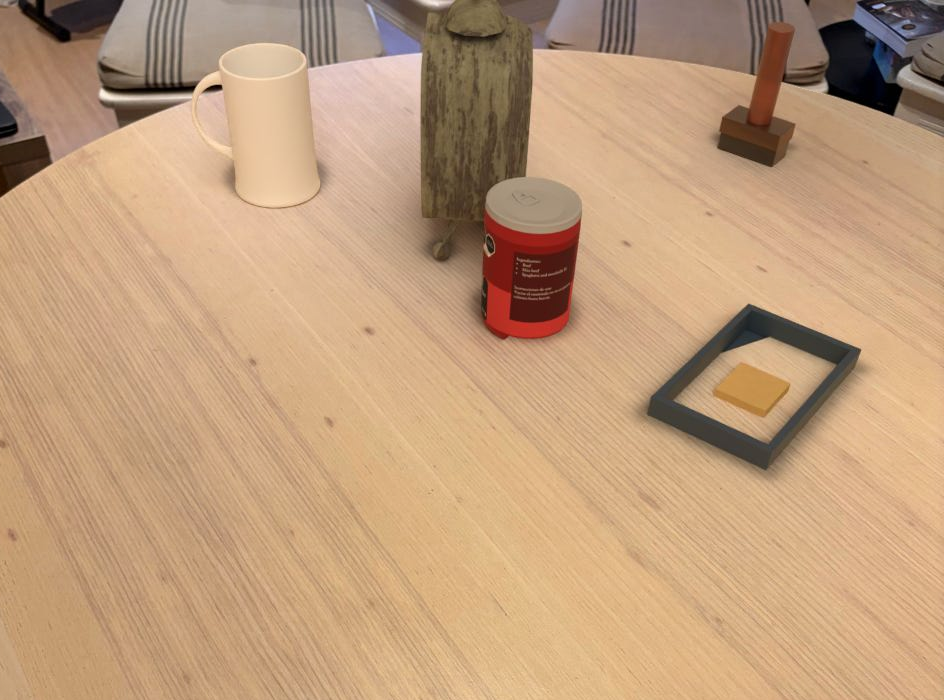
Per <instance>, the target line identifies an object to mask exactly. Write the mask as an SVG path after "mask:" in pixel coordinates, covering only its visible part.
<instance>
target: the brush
mask: <svg viewBox="0 0 944 700" xmlns="http://www.w3.org/2000/svg"><path fill="white" fill-rule="evenodd" d="M795 32H796V28H795V26H794V25H793V24H791V23H788V22H783V21H774V22H771V23H769V24H768V26H767V30H766V34H765V38H764V39H765V40H764V43H763V46H762V47H763V48H762V52H761V56H760V60H759V64H758V69H757V73H756V77H755V82H754V85H753V90H752V94H751V98H750V102H749V107H746V106H743V105H740V104H738V105H737V106H735V107H733V108H732V109H731V110H730V111H728V112H727V113H726V114H724V115H723V116H722V117H721V120H720V126H719V130H718V133H720V135H719V139H718V143H717V149H719V150H722V151H725V152H727V153H731V154H734V155H736V156H740V157H743V158H746V159H749V160H751V161H754V162H757V163H759V164H762V165H765V166H768V167H771V168H772V167H774V166H775V165H776V164H778V163H779V162H780V161H781V160H782V159H783V158H785V157H786V155H787V151H788V148H789V143H790V141H791V140H792V139H793V135H794V133H795V128H796V125H797V124H796V122H795V123H794V122H792V121H789V120H786V119H784V118H780V117H776V116H774V113H775V109H776V105H777V101H778V98H779V95H780V94H779V93H780V90H781V87H782V82H783V78H784V75H785V71H786V66H787V63H788V58H789V55H790V50H791V47H792V42H793V38H794V35H795Z"/></svg>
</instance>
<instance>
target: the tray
mask: <svg viewBox="0 0 944 700" xmlns="http://www.w3.org/2000/svg"><path fill="white" fill-rule="evenodd" d="M767 338H772V339H774V340H776V341H779V342H781V343H783V344H786V345H788V346H791V347H793V348H796V349H798V350H800V351H803V352H805V353H808V354H809V355H812V356H814V357H817V358H820V359H822V360H824V361H827V362H829V363H831V364H834V365H836V366H835V367H834V369H833V370H832V371H830V373H828V375H827V376H826V377H825V379H823V381H822V382H821V383H820V384H819V386H818V387H817V388H816V389H815V390H814V391H813V392H812V393H811V394H810V396H809V397H808V398H807V399H806V400H805V401H804V402H803V403H802V405H801V406H800V407H799V408H798V409H797V410H796V411H795V412H794V414H793V415H792V416H791V417H790V418H789V419H788V420H787V422H786V423H785V424H784V425H783V426H782V427H781V429H779V431H777V433H775V435H774V436H773V438H772V439H771V440H770V441H769V442H768V443H766V442H764V441H762V440H760V439H758V438H756V437H753V436H751V435H749V434H747V433H745V432H743V431H741V430H738V429H736V428H733V427H731V426H730V425H727V424H725V423H723V422H722V421H719V420H716V419H714V418H712V417H710V416H707V415H705V414H704V413H702V412H699V411H698V410H695V409H693V408H690V407H688V406H686V405H684V404H682V403H679V402H677V401H675V399H676V398H677V397H678V396H679V395H680V394H681V393H682V392H683V391H684V390H685V389H686V388H687V387H688V386H689V385H690V384H691V383H692V382H693V381H695V380H696V378H697V377H698V376H699V375H700V374H702V373H703V372H704V370H705V369H706V368H707V367H709V366H710V364H711V363H713V362H714V361H715V360H716V359H717V358H718V357H719V356H720V355H721V354H724V353H726V352H730V351H732V350H736V349H738V348H741V347H744V346H747V345H750V344H753V343H755V342H759V341H763V340H764V339H767ZM861 352H862V349H861V348H859V347H858V346H855V345H852V344H850V343H847V342H845V341H842V340H841V339H840V340H839V339H837V338H835V337H832V336H830V335H828V334H825V333H822V332H821V331H818V330H816V329H812V328H810V327H808V326H806V325H803V324H800V323H798V322H795V321H793V320H790V319H788V318H786V317H784V316H780V315H778V314H776V313H773V312H771V311H768V310H766V309H764V308H761V307H759V306H756V305H754V304H752V303H747V304H746V305H745V306H744V307H743V308H741V310H740V311H739V312H738V313H737V314H735V316H734V317H733V318H732V319H731V320H729V321H728V322H727V323H726V324H725V325H724V326H723V327H722V328H721V329H720V330H719V331H718V332H717V333H716V334H715V335H714V336H713V337H712V338H711V339H710V340H709V341H707V342H706V344H704V345H703V346H702V347H701V348H700V349H699V350H698V351H697V352H696V353H695V354H694V355H693V356H692V357H691V358H689V360H688V361H687V362H686V363H685V364H684V365H683V366H681V368H680V369H678V370H677V372H675V373H674V374H673V375H672V376H671V377H670V378H669V379H668V380H667V381H666V382H665V383H664V384H663V385H662V386H661V387H659V389H657V391H655V392H654V393H653V394H652V395H651V397H650V400H649V405H648V410H647V414H646V415H647V416H649V417H651V418H653V419H655V420H658V421H660V422H662V423H664V424H666V425H668V426H671V427H673V428H674V429H676V430H679V431H681V432H683V433H685V434H687V435H690V436H692V437H694V438H696V439H698V440H700V441H703V442H704V443H707V444H708V445H711V446H713V447H715V448H717V449H719V450H721V451H723V452H726V453H728V454H730V455H732V456H734V457H736V458H739V459H741V460H742V461H744V462H746V463H749V464H751V465H753V466H755V467H758V468H760V469H762V470H764V471H767V470H768V469H769V468H770V466H771V465H772V464H773V463H774V462H775V461H776V460H777V459H778V457H779V456H780V455H781V454H782V453H783V452H784V450H785V449H786V448H787V447H788V446H789V445H790V443H791V442H793V440H794V439H795V438H796V436H797V435H798V434H799V433H800V432H801V430H803V428H804V427H805V426H806V425H807V423H808V422H809V421H810V420H811V419H812V418H813V417H814V416H815V414H816V413H817V412H818V411H819V410H820V409H821V408H822V407H823V405H824V404H825V403H826V402H827V400H828V399H829V398H830V397H831V396H832V395H833V393H834V392H835V391H836V390H837V389H838V387H840V385H841V384H842V383H843V381H844V380H845V379H847V377H848V376H849V375H850V374H851V372H852V371H853V370H854V369H855V368H856V365H857V362H858V360H859V357H860V355H861Z"/></svg>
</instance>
